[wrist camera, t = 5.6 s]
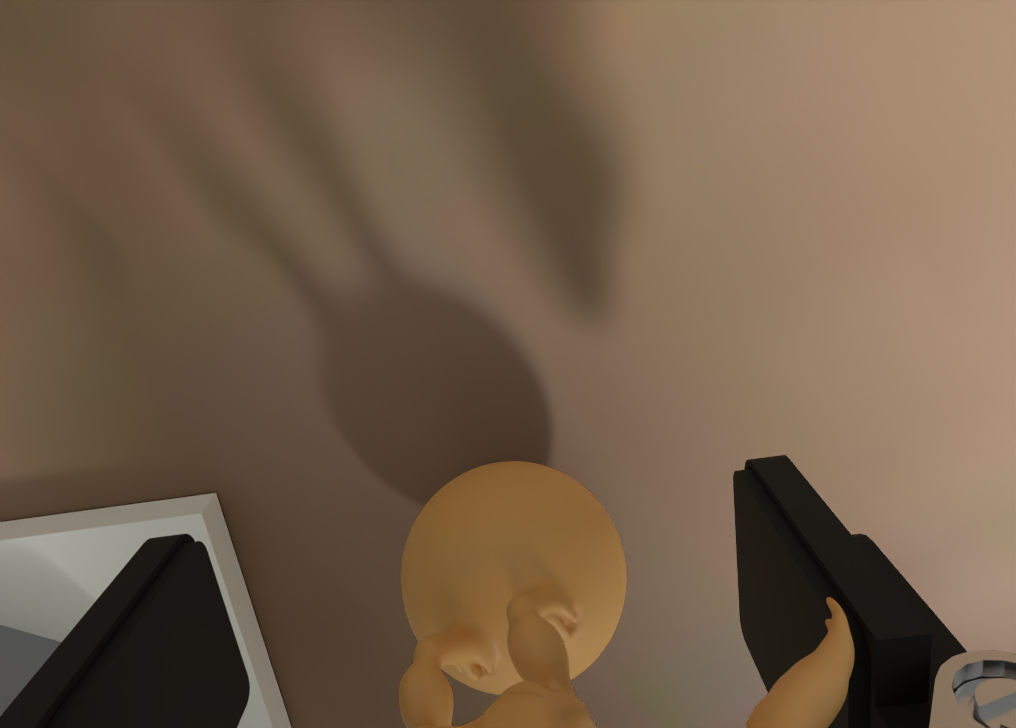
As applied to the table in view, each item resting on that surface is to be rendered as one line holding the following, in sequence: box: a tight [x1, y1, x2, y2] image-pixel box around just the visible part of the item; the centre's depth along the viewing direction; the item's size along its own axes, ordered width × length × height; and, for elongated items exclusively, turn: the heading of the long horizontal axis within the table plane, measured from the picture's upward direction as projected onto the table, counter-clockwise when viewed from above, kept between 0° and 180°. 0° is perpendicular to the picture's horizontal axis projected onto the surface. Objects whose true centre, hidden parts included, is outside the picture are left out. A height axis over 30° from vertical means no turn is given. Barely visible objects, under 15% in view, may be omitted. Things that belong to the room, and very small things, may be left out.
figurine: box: [399, 461, 855, 728], centre depth 9 cm, size 8×6×12 cm
